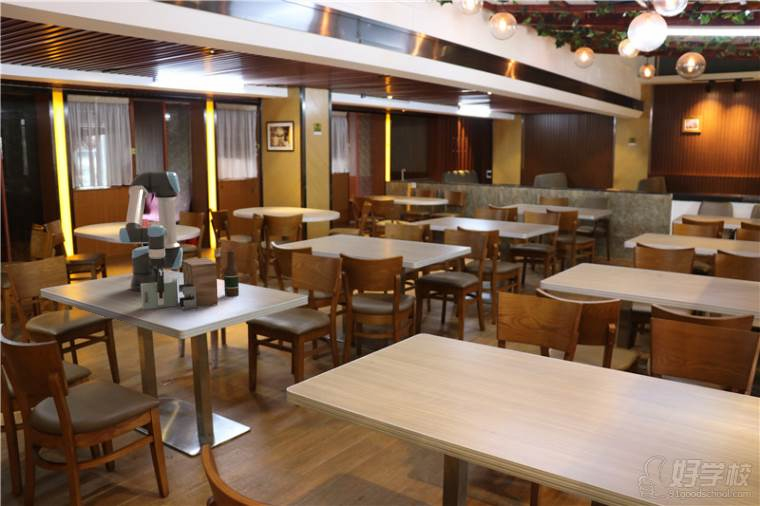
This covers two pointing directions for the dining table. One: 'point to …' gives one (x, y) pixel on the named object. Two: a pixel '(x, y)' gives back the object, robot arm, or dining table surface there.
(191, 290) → the grey open frame
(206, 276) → the cabinet
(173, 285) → the door
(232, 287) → the beer bottle
